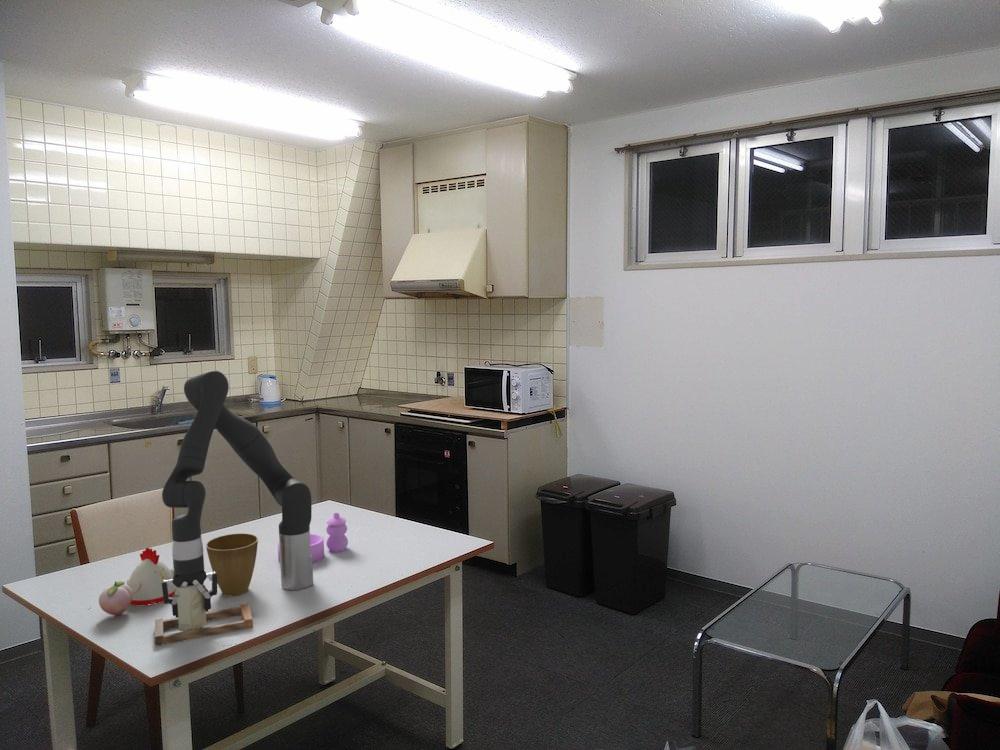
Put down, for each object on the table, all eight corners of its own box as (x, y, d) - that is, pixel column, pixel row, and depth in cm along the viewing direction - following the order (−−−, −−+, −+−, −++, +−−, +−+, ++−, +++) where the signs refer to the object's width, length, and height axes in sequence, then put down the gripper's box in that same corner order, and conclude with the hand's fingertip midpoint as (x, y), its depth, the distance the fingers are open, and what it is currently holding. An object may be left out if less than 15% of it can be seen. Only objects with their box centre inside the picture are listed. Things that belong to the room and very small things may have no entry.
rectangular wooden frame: (248, 611, 209) (247, 603, 209) (252, 627, 199) (252, 618, 198) (155, 628, 199) (154, 619, 198) (155, 646, 188) (154, 636, 188)
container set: (289, 570, 242) (287, 531, 240) (271, 558, 253) (269, 520, 252) (357, 552, 258) (356, 516, 256) (337, 542, 269) (335, 507, 268)
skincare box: (193, 633, 194) (190, 588, 193) (178, 631, 195) (175, 587, 194) (207, 622, 200) (204, 579, 199) (192, 621, 201) (189, 578, 200)
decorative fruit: (105, 610, 211) (103, 577, 210) (136, 607, 213) (134, 574, 212) (95, 624, 202) (93, 589, 201) (127, 621, 204) (125, 586, 203)
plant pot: (205, 588, 226) (202, 538, 225) (255, 579, 234) (252, 530, 232) (212, 605, 213) (209, 552, 212) (265, 595, 221) (262, 543, 219)
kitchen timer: (145, 609, 212) (142, 559, 210) (116, 600, 218) (112, 551, 217) (186, 592, 224) (183, 544, 222) (157, 584, 231) (154, 538, 229)
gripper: (215, 545, 202) (219, 603, 204) (158, 554, 196) (162, 613, 198) (217, 554, 195) (221, 613, 197) (158, 563, 189) (162, 624, 191)
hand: (192, 613), depth 197 cm, fingers closed on skincare box, 7 cm apart
